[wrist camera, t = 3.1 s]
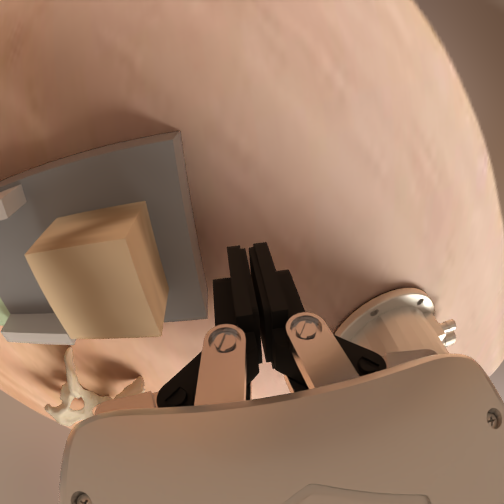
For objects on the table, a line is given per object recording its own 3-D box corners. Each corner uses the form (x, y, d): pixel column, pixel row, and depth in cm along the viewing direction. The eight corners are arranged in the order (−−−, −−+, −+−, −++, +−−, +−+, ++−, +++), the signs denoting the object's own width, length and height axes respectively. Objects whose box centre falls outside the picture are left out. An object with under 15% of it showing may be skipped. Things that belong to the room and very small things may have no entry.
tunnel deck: (180, 130, 15) (164, 148, 11) (207, 290, 22) (207, 342, 17) (-74, 219, 13) (-100, 244, 9) (-32, 306, 20) (-50, 335, 16)
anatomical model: (55, 333, 23) (40, 372, 19) (155, 373, 28) (152, 413, 23) (50, 390, 29) (43, 419, 25) (122, 417, 34) (120, 446, 30)
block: (145, 200, 14) (125, 238, 11) (169, 288, 18) (161, 336, 14) (56, 217, 14) (24, 254, 11) (89, 295, 17) (71, 338, 14)
